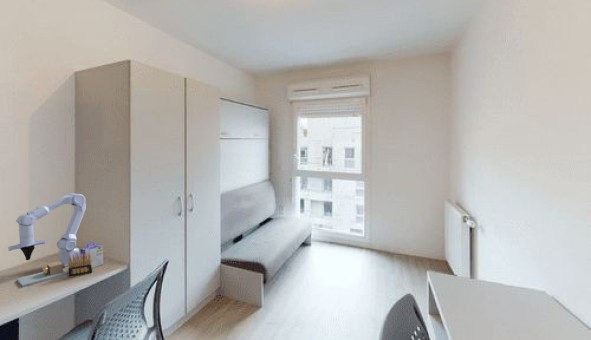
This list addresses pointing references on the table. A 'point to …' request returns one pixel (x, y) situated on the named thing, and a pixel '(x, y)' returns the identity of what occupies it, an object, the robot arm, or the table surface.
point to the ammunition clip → (80, 265)
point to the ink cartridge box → (94, 254)
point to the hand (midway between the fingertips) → (28, 259)
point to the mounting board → (55, 272)
